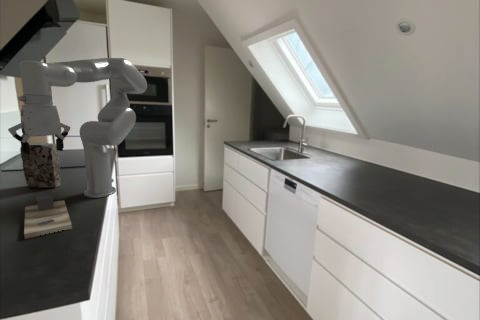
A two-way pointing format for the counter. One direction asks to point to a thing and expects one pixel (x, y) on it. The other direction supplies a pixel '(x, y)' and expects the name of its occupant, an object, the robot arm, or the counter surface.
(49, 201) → the sanding sponge
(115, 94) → the robot arm
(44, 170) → the stone block
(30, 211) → the birch board
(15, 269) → the counter surface
